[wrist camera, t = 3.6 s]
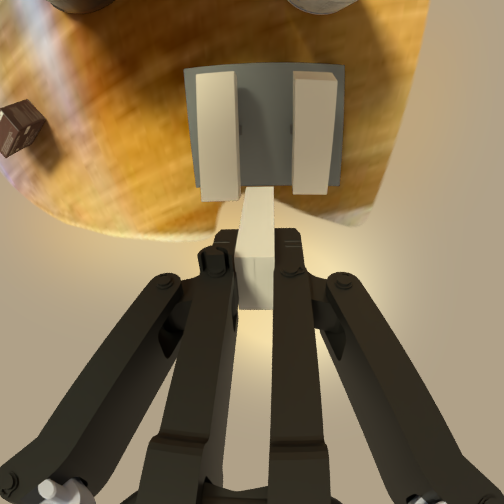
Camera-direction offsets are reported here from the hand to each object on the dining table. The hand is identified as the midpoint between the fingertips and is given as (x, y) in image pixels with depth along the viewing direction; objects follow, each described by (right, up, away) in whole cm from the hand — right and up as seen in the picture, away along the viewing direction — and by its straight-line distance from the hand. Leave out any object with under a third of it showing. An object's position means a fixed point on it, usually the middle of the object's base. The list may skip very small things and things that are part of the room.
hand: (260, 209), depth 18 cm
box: (-38, +20, +21) cm, 48 cm away
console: (+1, +15, +22) cm, 26 cm away
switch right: (+6, +11, +15) cm, 20 cm away
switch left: (-4, +11, +16) cm, 20 cm away
